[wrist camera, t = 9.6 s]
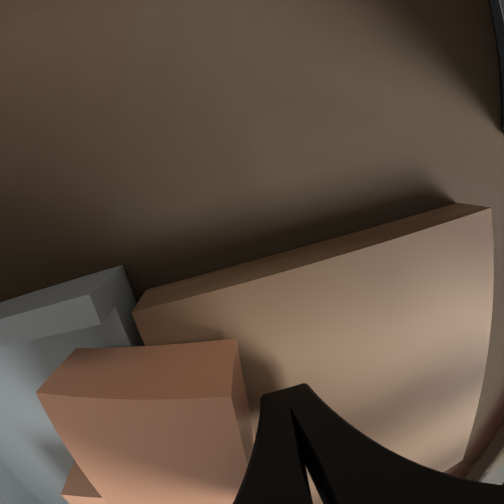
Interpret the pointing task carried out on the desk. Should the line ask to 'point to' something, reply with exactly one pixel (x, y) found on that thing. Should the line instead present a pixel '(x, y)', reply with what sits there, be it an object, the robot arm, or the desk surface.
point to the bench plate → (357, 326)
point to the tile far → (80, 488)
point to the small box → (499, 38)
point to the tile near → (155, 421)
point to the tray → (42, 367)
